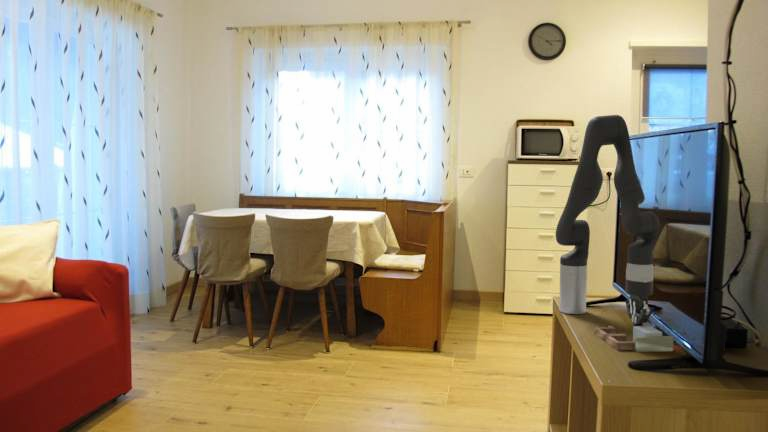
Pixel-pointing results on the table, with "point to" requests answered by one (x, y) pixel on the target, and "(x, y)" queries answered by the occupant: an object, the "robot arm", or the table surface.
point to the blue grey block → (645, 331)
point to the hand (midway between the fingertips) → (637, 334)
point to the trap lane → (640, 342)
